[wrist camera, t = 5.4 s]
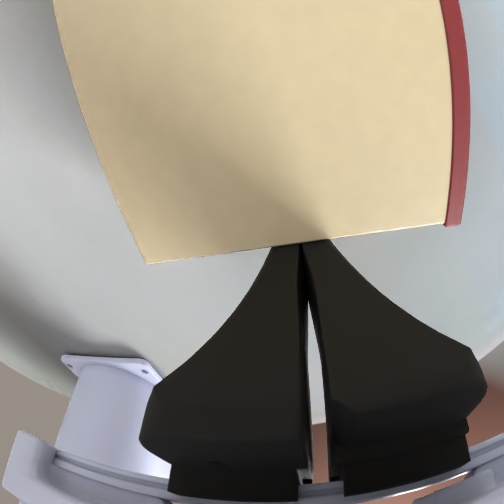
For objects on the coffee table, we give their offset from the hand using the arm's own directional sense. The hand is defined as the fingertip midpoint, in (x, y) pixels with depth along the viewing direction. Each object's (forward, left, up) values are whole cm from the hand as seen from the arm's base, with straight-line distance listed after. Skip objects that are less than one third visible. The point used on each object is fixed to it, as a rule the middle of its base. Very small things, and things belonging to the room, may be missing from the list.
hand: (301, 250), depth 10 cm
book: (+7, 0, -1) cm, 8 cm away
